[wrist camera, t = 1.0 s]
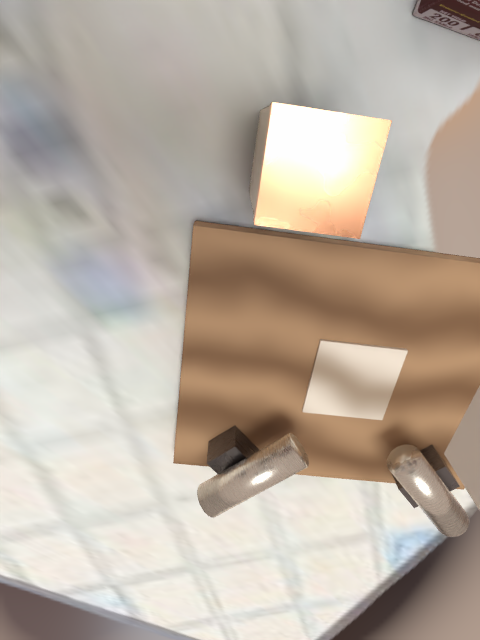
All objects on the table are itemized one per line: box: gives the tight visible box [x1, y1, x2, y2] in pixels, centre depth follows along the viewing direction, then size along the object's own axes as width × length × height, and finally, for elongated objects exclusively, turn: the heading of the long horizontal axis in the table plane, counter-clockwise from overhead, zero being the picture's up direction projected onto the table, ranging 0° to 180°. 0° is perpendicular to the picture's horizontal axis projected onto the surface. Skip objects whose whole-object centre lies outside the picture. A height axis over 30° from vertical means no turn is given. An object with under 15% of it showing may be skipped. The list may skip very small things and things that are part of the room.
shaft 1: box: [197, 425, 309, 517], centre depth 33 cm, size 9×4×5 cm, turn 127°
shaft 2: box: [387, 444, 469, 537], centre depth 34 cm, size 9×4×5 cm, turn 37°
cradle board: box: [173, 221, 480, 489], centre depth 34 cm, size 22×28×2 cm
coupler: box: [249, 102, 392, 239], centre depth 22 cm, size 5×5×10 cm
